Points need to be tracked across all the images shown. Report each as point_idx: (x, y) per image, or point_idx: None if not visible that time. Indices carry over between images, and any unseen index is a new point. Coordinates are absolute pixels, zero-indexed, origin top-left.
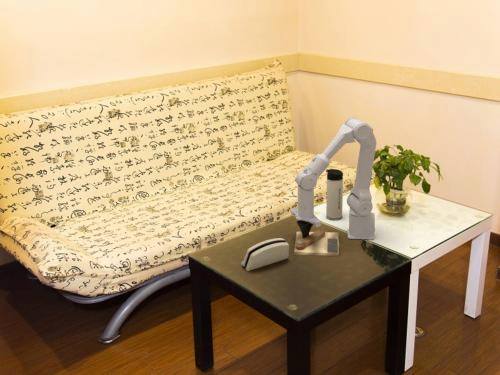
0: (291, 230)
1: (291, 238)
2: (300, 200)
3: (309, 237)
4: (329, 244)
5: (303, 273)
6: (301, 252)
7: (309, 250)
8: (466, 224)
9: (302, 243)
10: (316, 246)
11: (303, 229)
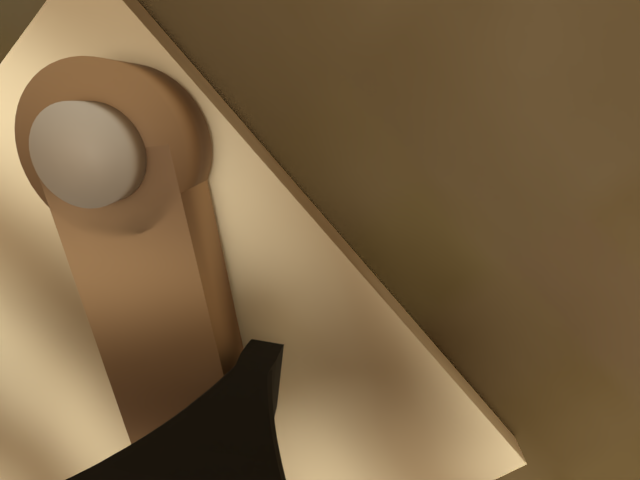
0: (634, 471)
1: (493, 320)
2: None
3: (181, 394)
4: None
5: None
6: (18, 39)
7: (7, 169)
8: None
9: (40, 154)
10: (56, 311)
11: (129, 450)
